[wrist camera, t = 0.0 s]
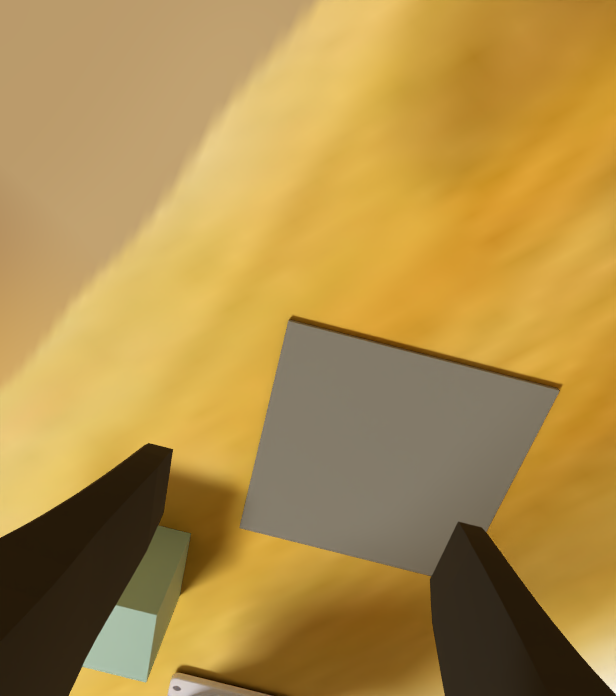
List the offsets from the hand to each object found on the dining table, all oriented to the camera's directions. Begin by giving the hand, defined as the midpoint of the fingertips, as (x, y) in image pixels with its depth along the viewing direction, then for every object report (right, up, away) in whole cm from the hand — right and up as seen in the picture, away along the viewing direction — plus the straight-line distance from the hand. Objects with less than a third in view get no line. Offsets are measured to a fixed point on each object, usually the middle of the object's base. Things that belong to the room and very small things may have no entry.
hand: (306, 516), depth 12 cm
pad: (+4, -1, +11) cm, 12 cm away
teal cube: (-9, -8, +15) cm, 19 cm away
